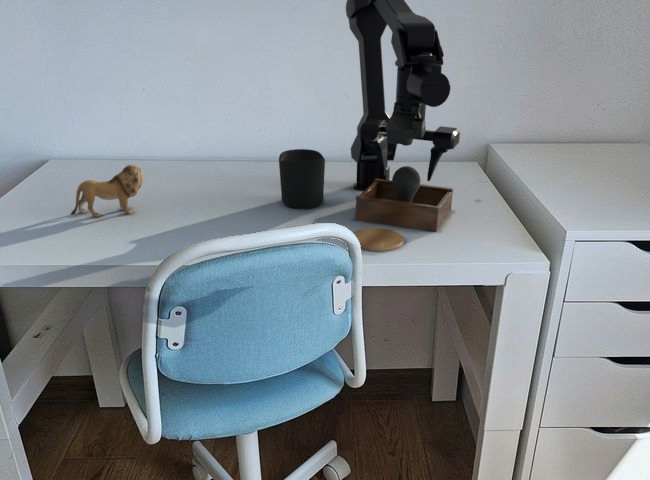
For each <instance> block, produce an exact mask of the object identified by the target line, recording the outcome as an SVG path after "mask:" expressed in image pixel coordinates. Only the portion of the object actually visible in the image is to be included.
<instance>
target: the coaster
mask: <svg viewBox="0 0 650 480" xmlns="http://www.w3.org/2000/svg"><path fill="white" fill-rule="evenodd" d="M352 233H354V234H355V235H356V237H357V238H358V240H359V242H360V245H361V248H360V249H361V250H365V251H371V252H372V251H373V252H384V251H392V250H395V249H399V248H400V247H401V246H403V244H404V240H405V239H404V236H403V235H402V234H401V233H400V232H398V231H396V230H392V229H389V228H382V227H367V228H362V229H358V230H355V231H353V232H352Z"/></svg>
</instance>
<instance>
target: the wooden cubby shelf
mask: <svg viewBox="0 0 650 480" xmlns="http://www.w3.org/2000/svg"><path fill="white" fill-rule="evenodd" d="M453 194H454V188H452V187H445V186H438V185H430V184H422V183H420V186H419V189H418V190H417V192H416V194H415V195H414V197H413V200H412V203H411V202H403V201H398V197H397V194H396V192H395V190H394V188H393V185H392V179H389V180H384V179H375V180H374V182H373V183H372V184H371V185H370V186H369V187H368V188H367V189H366V190H363V191H362V192H361V193H360V194H357V195H356V196H355V221H360V222H361V221H362V222H368V223H374V224H381V225H389V226H396V227H402V228H409V229H416V230H423V231H430V232H437V231H438V230H439V229H440V227H441V226H442V224H443V223H444V222H445V220H446V219H447V217H448V216H449V214H450V213H451V212H452V206H453V205H452V203H453Z"/></svg>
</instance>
